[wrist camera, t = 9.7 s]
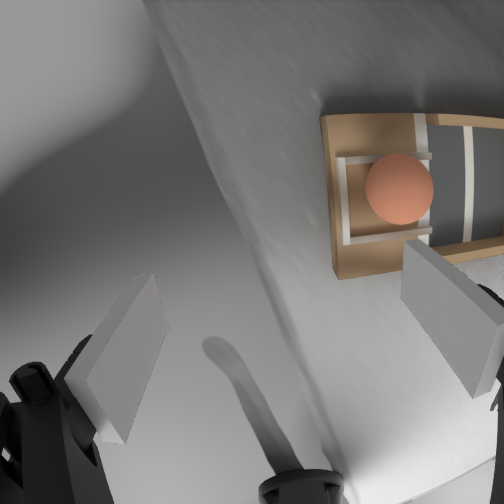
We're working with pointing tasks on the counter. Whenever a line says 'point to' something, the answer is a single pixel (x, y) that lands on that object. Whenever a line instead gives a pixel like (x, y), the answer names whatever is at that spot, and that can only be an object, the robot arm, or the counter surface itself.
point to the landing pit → (466, 186)
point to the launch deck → (354, 195)
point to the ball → (399, 188)
